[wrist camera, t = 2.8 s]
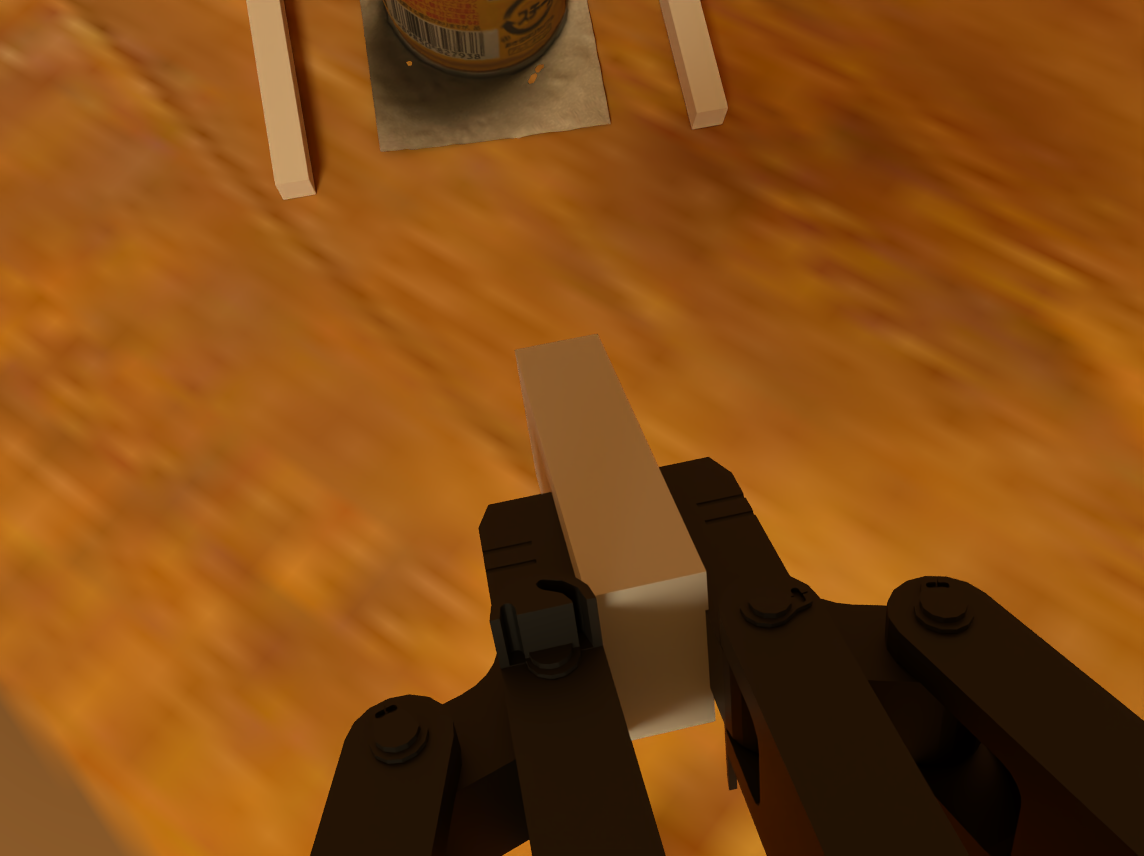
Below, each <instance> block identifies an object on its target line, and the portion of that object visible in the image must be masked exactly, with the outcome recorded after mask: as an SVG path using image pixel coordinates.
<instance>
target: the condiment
mask: <svg viewBox="0 0 1144 856" xmlns="http://www.w3.org/2000/svg"><path fill="white" fill-rule="evenodd" d="M360 3H361V11H362V17H363V25H364V36H365V40H366V49H367V56H368V62H369V70H370V79H371V85H372V92H373V100H374V107H375V114H376V123H377V130H378V137H379V144H380V151H393V150H402V149H420V148H428V147H438V146H446V145H452V144H467V143H474V142H482V141H489V140H497V139H503V138H520V137H523V136H528V135H532V134H538V133H546V132H557V131H566V130H572V129H576V128H582V127H589V126H597V125H605V124H610V118H609V113H608V107H607V101H606V96H605V91H604V87H603V81H602V76H601V69H600V64H599V60H598V56H597V50H596V44H595V38H594V34H593V29H592V23H591V19H590V14H589V9H588V4H587V0H360ZM407 61H412V65H411V66H408V65H407V63H406V62H407ZM539 64H544V68H543V69H541V71H540V72H539V73H536V72H535V67H536V66H537V65H539ZM534 73H536V74H537V75H538V76H537V78H536V80H535V82H534V83H532V84H529V83H528V80H529V78H530V76H531V75H532V74H534Z"/></svg>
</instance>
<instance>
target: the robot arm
mask: <svg viewBox="0 0 1144 856" xmlns="http://www.w3.org/2000/svg"><path fill="white" fill-rule="evenodd" d="M515 354H516V360H517V366H518V372H519V378H520V383H521V389H522V395H523V401H524V407H525V412H526V418H527V424H528V430H529V435H530V441H531V447H532V453H533V459H534V464H535V470H536V475H537V479H538V483H539V487H540V490H541V494H538V495H533V496H529V497H524V498H519V499H514V500H509V501H505V502H500V503H495V504H490V505H488V507H487V509H486V512H485V514H484V516H483V519H482V521H481V523H480V526H479V534H480V540H481V546H482V551H483V557H484V563H485V569H486V575H487V581H488V587H489V593H490V599H491V605H492V606H491V613H490V625H491V630H492V634H493V638H494V643H495V647H496V652H497V655H496V658H495V661H494V664H493V666H492V667H491V669H490V670H489V672H488V673H487V675H486V676H485V677H484V678H483V679H482V680H481V681H480V682H479V683H478V684H477V685H476V686H474V687H473V688H471V689H470V690H468V691H466V692H465V693H463V694H462V695H460V696H458V697H456V698H454V699H452V700H450V701H448V702H446V703H444V704H443V705H442V704H441V703H439V702H437V701H435V700H434V699H432V698H430V697H426V696H418V695H410V694H409V695H404V696H399V697H394V698H389V699H387V700H385V701H383V702H381V703H379V704H377V705H375V706H373V707H371V708H369V709H368V710H367V711H366V712H365V713H364V714H363V715H362V716H361V717H360V718H358V719H357V720H356V721H355V722H354V724H353V725H352V727H351V729H350V731H349V733H348V735H347V737H346V739H345V741H344V744H343V748H342V751H341V754H340V758H339V761H338V764H337V768H336V771H335V774H334V778H333V781H332V784H331V788H330V791H329V794H328V798H327V801H326V804H325V808H324V811H323V814H322V818H321V821H320V824H319V828H318V831H317V834H316V838H315V841H314V844H313V848H312V851H311V854H310V856H502V855H504V854H505V853H507V852H509V851H511V850H512V849H514V848H516V847H517V846H519V845H521V844H522V843H524V842H526V841H527V840H530V846H531V851H532V856H666V855H665V852H664V849H663V845H662V842H661V838H660V835H659V832H658V828H657V825H656V822H655V818H654V815H653V812H652V808H651V805H650V801H649V798H648V795H647V791H646V788H645V785H644V781H643V778H642V775H641V771H640V768H639V765H638V761H637V758H636V754H635V751H634V748H633V744H632V741H631V740H636V739H640V738H644V737H649V736H653V735H657V734H661V733H666V732H670V731H674V730H679V729H683V728H687V727H692V726H696V725H700V724H705V723H709V722H713V721H715V707H714V699H715V701H716V704H717V706H718V709H719V711H720V714H721V716H722V719H723V721H724V724H725V743H726V762H727V778H728V785H729V790H733V789H737V780H738V783H739V785H740V788H741V790H742V793H743V795H744V798H745V801H746V803H747V806H748V808H749V811H750V813H751V816H752V819H753V821H754V824H755V826H756V829H757V832H758V834H759V837H760V839H761V842H762V844H763V847H764V850H765V852H766V855H767V856H1144V721H1143V720H1142V719H1141V718H1140V717H1138V716H1137V715H1136V714H1135V713H1133V712H1132V711H1131V710H1130V709H1128V708H1127V707H1126V706H1125V705H1124V704H1122V703H1121V702H1120V701H1119V700H1117V699H1116V698H1115V697H1114V696H1112V695H1111V694H1110V693H1109V692H1107V691H1106V690H1105V689H1104V688H1102V687H1101V686H1100V685H1099V684H1097V683H1096V682H1095V681H1094V680H1093V679H1091V678H1090V677H1089V676H1088V675H1086V674H1085V673H1084V672H1083V671H1081V670H1080V669H1079V668H1078V667H1076V666H1075V665H1074V664H1073V663H1071V662H1070V661H1069V660H1068V659H1066V658H1065V657H1064V656H1063V655H1061V654H1060V653H1059V652H1058V651H1057V650H1055V649H1054V648H1053V647H1052V646H1050V645H1049V644H1048V643H1047V642H1045V641H1044V640H1043V639H1042V638H1040V637H1039V636H1038V635H1037V634H1035V633H1034V632H1033V631H1032V630H1030V629H1029V628H1028V627H1027V626H1026V625H1024V624H1023V623H1022V622H1021V621H1019V620H1018V619H1017V618H1016V617H1014V616H1013V615H1012V614H1011V613H1009V612H1008V611H1007V610H1006V609H1004V608H1003V607H1002V606H1001V605H999V604H998V603H997V602H996V601H995V600H993V599H992V598H991V597H990V596H988V595H987V594H986V593H985V592H983V591H981V590H979V589H978V588H976V587H974V586H973V585H971V584H969V583H967V582H964V581H960V580H957V579H953V578H950V577H941V576H924V577H920V578H916V579H912V580H908V581H906V582H904V583H903V584H902V585H900V586H899V587H897V588H896V589H894V590H893V592H892V594H891V596H890V598H889V600H888V602H887V606H882V605H851V604H842V603H835V602H831V601H828V600H824V599H820V598H819V596H818V595H817V594H816V593H815V592H814V591H813V590H812V589H811V588H810V587H809V586H808V585H807V584H805V583H803V582H801V581H799V580H797V579H795V578H793V577H791V576H790V575H789V574H788V572H787V570H786V568H785V567H784V565H783V563H782V561H781V559H780V558H779V556H778V554H777V552H776V551H775V549H774V547H773V545H772V543H771V542H770V540H769V538H768V536H767V535H766V533H765V531H764V529H763V527H762V526H761V524H760V522H759V520H758V519H757V517H756V515H754V514H753V510H752V508H751V506H750V504H749V503H748V501H747V499H746V498H744V495H743V492H742V490H741V488H740V487H739V485H738V483H737V481H736V480H735V478H734V476H733V474H732V473H731V472H730V471H728V470H727V469H725V468H724V467H723V466H721V465H720V464H718V463H717V462H715V461H714V460H712V459H711V458H709V457H706V458H701V459H696V460H691V461H686V462H682V463H677V464H672V465H667V466H662V467H658V465H657V463H656V460H655V458H654V456H653V454H652V452H651V449H650V447H649V445H648V443H647V441H646V439H645V436H644V434H643V432H642V430H641V428H640V425H639V423H638V421H637V419H636V417H635V414H634V412H633V410H632V408H631V406H630V404H629V401H628V399H627V397H626V395H625V393H624V390H623V388H622V386H621V384H620V382H619V379H618V377H617V375H616V373H615V371H614V369H613V366H612V364H611V362H610V360H609V358H608V355H607V353H606V351H605V349H604V347H603V344H602V342H601V340H600V338H599V336H598V334H594V335H588V336H583V337H578V338H573V339H568V340H563V341H558V342H552V343H547V344H542V345H537V346H532V347H527V348H522V349H516V350H515Z"/></svg>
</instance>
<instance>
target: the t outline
mask: <svg viewBox="0 0 1144 856" xmlns="http://www.w3.org/2000/svg"><path fill="white" fill-rule="evenodd" d="M659 1H660V5H661V9H662V13H663V17H664V21H665V25H666V29H667V33H668V37H669V41H670V45H671V49H672V53H673V57H674V61H675V65H676V69H677V73H678V77H679V81H680V85H681V88H682V92H683V96H684V100H685V104H686V108H687V112H688V116H689V120H690V124H691V128H692V129H697V128H703V127H709V126H715V125H721V124H722V123H723V121H724V118H725V115H726V112H727V110H728V105H727V101H726V98H725V94H724V90H723V86H722V82H721V79H720V75H719V71H718V67H717V63H716V59H715V56H714V52H713V48H712V44H711V40H710V37H709V33H708V29H707V25H706V21H705V18H704V14H703V10H702V6H701V2H700V0H659ZM246 2H247V8H248V14H249V21H250V27H251V33H252V40H253V46H254V52H255V59H256V65H257V72H258V78H259V84H260V91H261V97H262V103H263V110H264V116H265V122H266V129H267V135H268V141H269V148H270V154H271V161H272V167H273V173H274V180H275V185H276V187H277V189H278V191H279V192H280V194H281V196H282V198H283V200H285V199H291V198H296V197H302V196H308V195H314V194H316V191H315V185H314V179H313V173H312V167H311V161H310V155H309V149H308V143H307V137H306V131H305V125H304V119H303V113H302V107H301V101H300V95H299V89H298V83H297V77H296V71H295V65H294V59H293V53H292V47H291V41H290V35H289V29H288V22H287V16H286V10H285V4H284V0H246Z"/></svg>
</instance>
